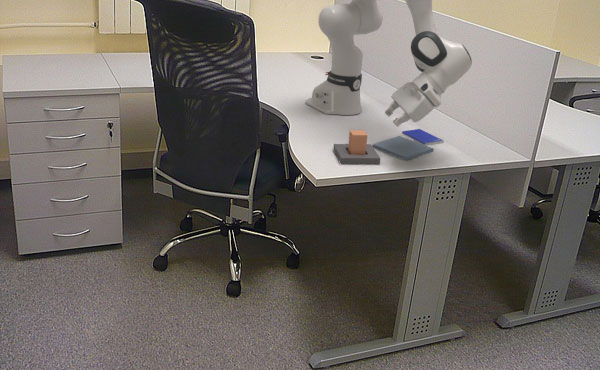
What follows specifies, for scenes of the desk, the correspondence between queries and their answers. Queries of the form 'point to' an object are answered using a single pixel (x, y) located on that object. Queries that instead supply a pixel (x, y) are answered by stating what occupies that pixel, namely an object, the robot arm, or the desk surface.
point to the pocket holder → (347, 158)
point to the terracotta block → (357, 142)
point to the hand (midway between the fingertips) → (390, 119)
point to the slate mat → (402, 147)
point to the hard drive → (422, 137)
